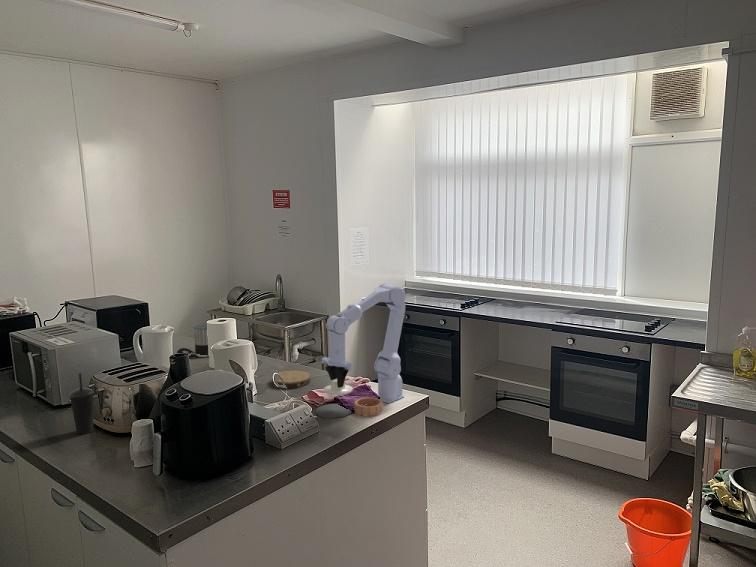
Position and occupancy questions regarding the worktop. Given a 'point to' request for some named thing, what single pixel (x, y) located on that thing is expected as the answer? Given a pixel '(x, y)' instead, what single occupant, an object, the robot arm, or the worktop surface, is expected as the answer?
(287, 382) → the brown round disc
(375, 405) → the bowl
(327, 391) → the lid
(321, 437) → the worktop surface
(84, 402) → the drinking cup
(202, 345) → the milk frother
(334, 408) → the mat
